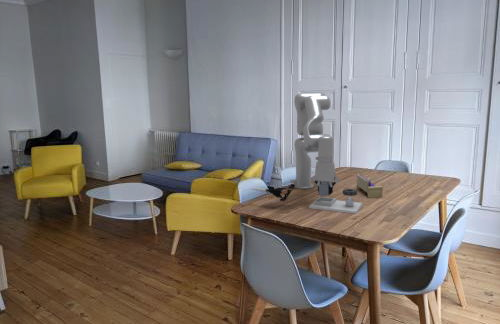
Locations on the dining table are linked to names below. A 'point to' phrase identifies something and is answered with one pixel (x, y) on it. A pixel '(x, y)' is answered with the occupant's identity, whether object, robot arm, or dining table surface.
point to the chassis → (336, 205)
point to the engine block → (324, 188)
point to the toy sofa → (369, 187)
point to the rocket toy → (277, 192)
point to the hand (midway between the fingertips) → (325, 193)
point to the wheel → (349, 192)
